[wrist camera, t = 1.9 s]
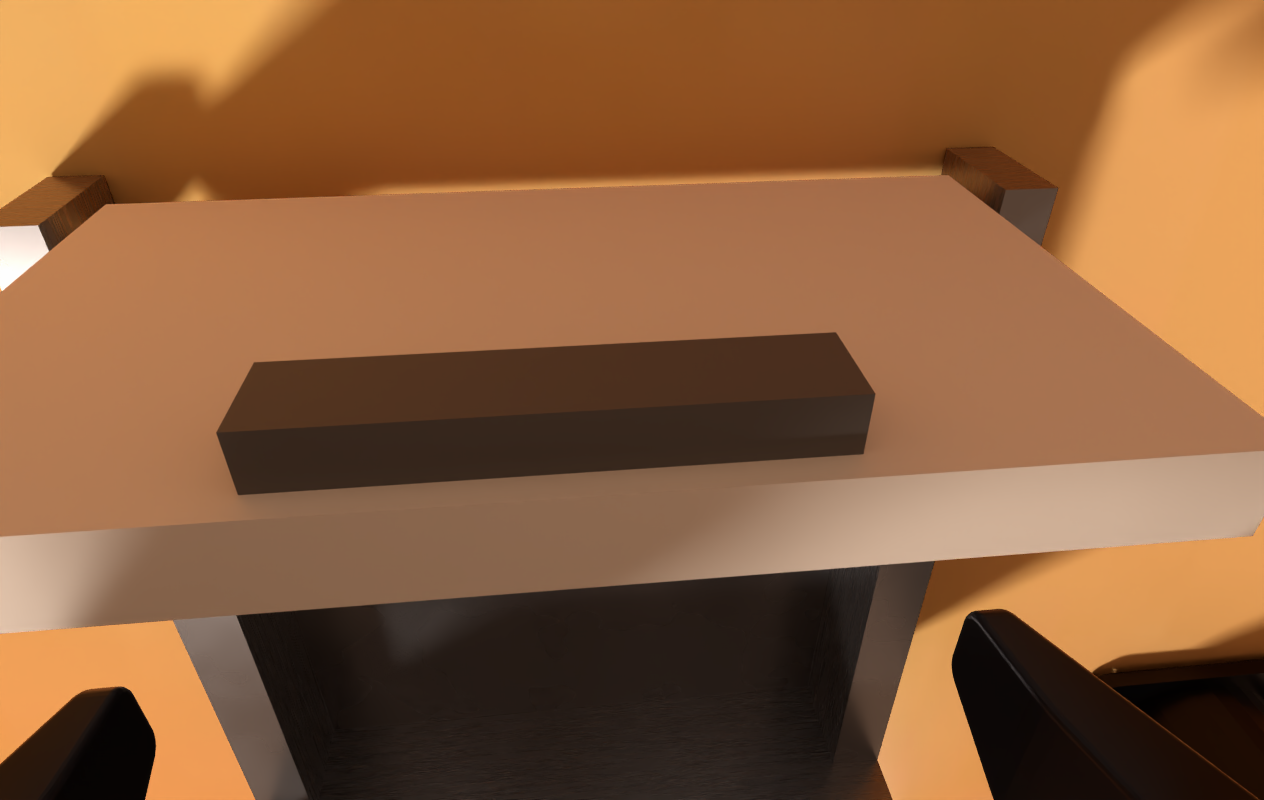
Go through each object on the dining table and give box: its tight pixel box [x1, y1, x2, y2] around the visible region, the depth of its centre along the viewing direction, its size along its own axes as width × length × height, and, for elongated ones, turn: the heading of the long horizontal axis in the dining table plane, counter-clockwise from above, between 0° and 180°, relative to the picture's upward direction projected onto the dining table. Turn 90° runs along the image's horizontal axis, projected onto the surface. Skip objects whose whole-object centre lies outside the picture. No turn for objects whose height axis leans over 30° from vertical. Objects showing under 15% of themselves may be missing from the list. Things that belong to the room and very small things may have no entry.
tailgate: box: [0, 175, 1264, 634], centre depth 9 cm, size 2×12×7 cm, turn 90°
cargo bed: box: [0, 147, 1058, 800], centre depth 14 cm, size 14×15×7 cm
